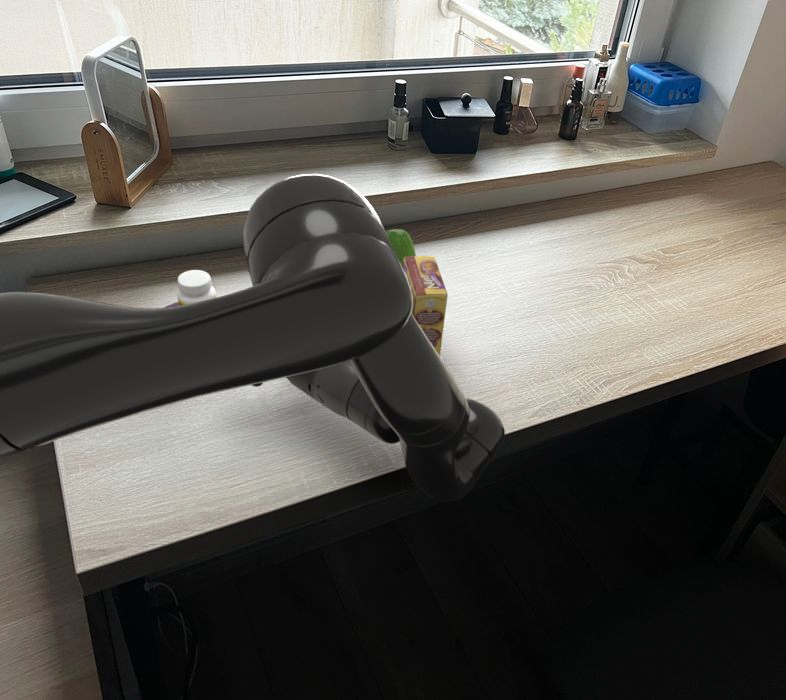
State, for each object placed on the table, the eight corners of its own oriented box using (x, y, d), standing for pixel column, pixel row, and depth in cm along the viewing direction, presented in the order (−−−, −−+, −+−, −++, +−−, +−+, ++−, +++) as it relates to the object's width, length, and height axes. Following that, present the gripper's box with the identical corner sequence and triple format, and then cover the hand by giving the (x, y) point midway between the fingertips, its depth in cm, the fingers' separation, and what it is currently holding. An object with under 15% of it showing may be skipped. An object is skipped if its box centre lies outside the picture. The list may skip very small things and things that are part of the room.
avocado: (426, 300, 110) (432, 231, 103) (393, 322, 105) (396, 251, 97) (386, 280, 113) (389, 211, 106) (352, 300, 108) (352, 229, 101)
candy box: (438, 391, 94) (448, 294, 85) (406, 393, 93) (412, 295, 84) (427, 348, 101) (435, 254, 91) (396, 350, 100) (401, 255, 90)
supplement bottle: (183, 321, 99) (174, 269, 94) (219, 317, 100) (212, 266, 95) (184, 342, 95) (174, 289, 90) (221, 338, 97) (214, 286, 92)
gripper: (384, 320, 82) (287, 265, 89) (288, 379, 73) (188, 312, 80) (382, 370, 87) (290, 314, 94) (292, 432, 77) (196, 364, 84)
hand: (243, 313), depth 87 cm, fingers open, 8 cm apart
